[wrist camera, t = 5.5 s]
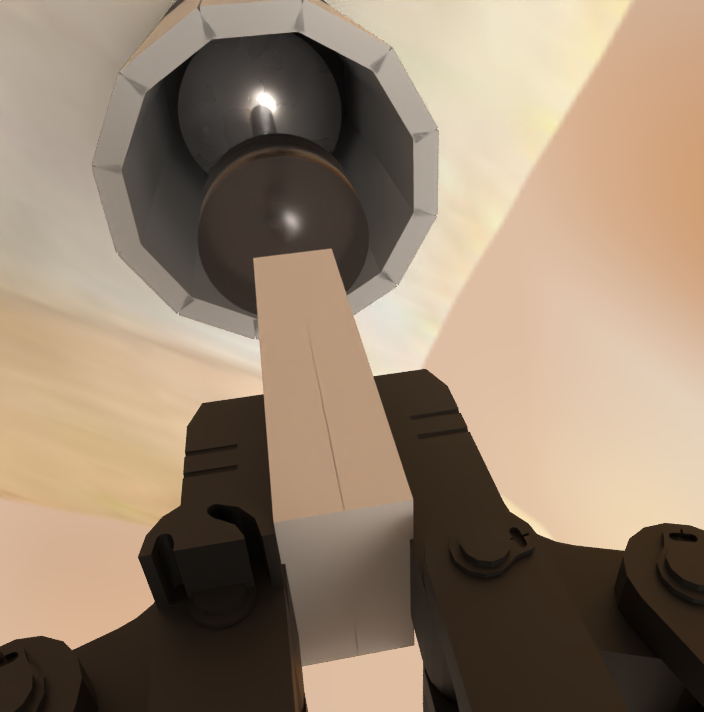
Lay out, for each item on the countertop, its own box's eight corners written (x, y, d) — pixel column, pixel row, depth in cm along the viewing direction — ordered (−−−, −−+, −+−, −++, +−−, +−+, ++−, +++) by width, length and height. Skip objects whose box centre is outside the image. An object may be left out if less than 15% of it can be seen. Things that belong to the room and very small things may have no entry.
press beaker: (121, -21, 29) (38, 10, 16) (355, -39, 30) (448, -23, 17) (182, 250, 36) (158, 417, 24) (368, 228, 38) (440, 376, 25)
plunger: (162, 31, 27) (103, 112, 14) (332, 16, 27) (420, 81, 15) (196, 198, 31) (173, 377, 18) (344, 181, 31) (421, 342, 19)
